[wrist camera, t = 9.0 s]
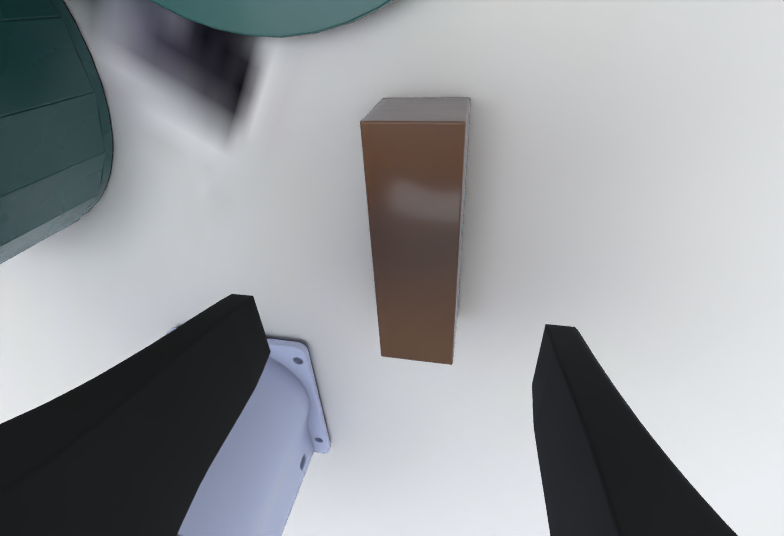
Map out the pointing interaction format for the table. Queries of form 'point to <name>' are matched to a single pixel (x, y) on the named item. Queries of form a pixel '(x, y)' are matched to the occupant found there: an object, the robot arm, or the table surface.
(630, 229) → the table surface
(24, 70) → the tin
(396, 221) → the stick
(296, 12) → the tin lid
